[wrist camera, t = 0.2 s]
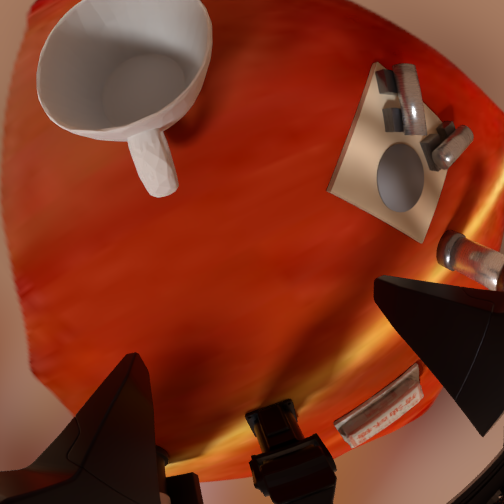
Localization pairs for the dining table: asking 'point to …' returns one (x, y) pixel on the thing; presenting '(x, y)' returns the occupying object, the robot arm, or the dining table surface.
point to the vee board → (387, 166)
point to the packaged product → (381, 409)
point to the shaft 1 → (403, 100)
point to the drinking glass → (471, 260)
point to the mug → (127, 76)
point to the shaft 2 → (445, 145)
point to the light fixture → (176, 484)
